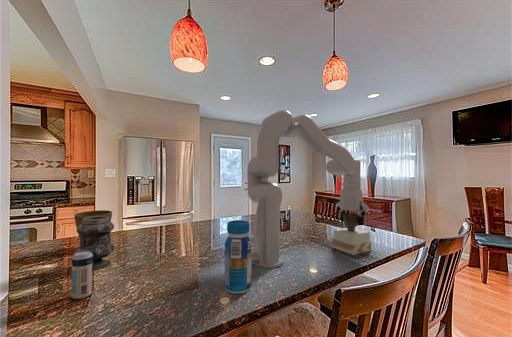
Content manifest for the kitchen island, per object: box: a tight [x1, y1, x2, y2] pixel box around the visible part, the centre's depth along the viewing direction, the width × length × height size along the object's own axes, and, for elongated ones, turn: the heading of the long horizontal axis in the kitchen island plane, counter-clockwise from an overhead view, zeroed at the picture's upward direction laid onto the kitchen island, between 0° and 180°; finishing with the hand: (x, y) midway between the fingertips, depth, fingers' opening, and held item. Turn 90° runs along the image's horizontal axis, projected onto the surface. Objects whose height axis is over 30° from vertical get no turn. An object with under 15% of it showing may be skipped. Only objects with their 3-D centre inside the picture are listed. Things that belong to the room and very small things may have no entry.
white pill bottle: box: [70, 251, 94, 300], centre depth 69 cm, size 5×5×12 cm
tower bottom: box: [331, 238, 372, 256], centre depth 113 cm, size 12×12×4 cm
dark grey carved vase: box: [74, 216, 115, 271], centre depth 92 cm, size 12×12×18 cm
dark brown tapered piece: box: [343, 212, 359, 231], centre depth 114 cm, size 8×7×8 cm
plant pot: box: [73, 209, 113, 239], centre depth 114 cm, size 15×15×16 cm
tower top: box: [333, 227, 371, 245], centre depth 113 cm, size 11×11×4 cm
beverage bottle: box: [223, 219, 253, 295], centre depth 75 cm, size 8×8×20 cm
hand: (351, 223), depth 113 cm, fingers open, 9 cm apart
